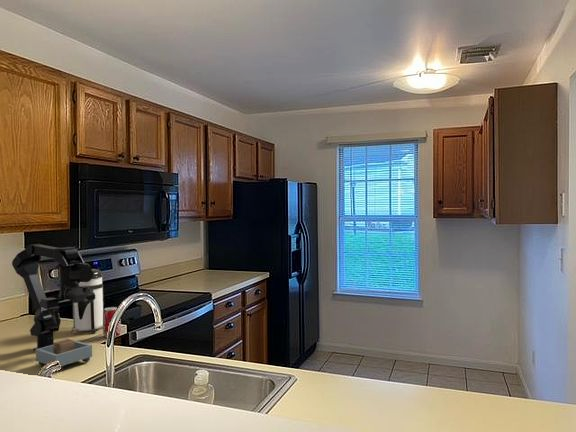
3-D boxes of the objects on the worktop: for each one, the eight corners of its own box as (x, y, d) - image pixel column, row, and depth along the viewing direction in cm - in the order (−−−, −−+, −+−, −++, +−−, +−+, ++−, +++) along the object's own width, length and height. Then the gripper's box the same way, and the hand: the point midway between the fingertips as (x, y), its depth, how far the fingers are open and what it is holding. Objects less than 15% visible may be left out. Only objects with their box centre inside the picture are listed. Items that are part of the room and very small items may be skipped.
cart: (36, 365, 155) (35, 349, 155) (72, 355, 166) (71, 339, 165) (56, 373, 147) (55, 355, 147) (92, 361, 158) (92, 345, 158)
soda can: (114, 339, 186) (114, 310, 185) (99, 338, 187) (98, 310, 187) (124, 334, 192) (123, 306, 192) (109, 333, 194) (108, 306, 194)
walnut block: (53, 356, 156) (53, 342, 156) (67, 352, 160) (67, 338, 160) (61, 359, 153) (60, 344, 153) (75, 354, 157) (74, 340, 157)
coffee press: (113, 331, 198) (111, 263, 197) (73, 337, 189) (71, 267, 188) (104, 323, 212) (102, 260, 212) (67, 328, 203) (65, 263, 203)
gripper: (54, 286, 155) (56, 331, 156) (103, 278, 171) (104, 319, 171) (38, 283, 161) (39, 326, 162) (86, 276, 177) (87, 315, 177)
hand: (69, 322), depth 168 cm, fingers open, 9 cm apart
